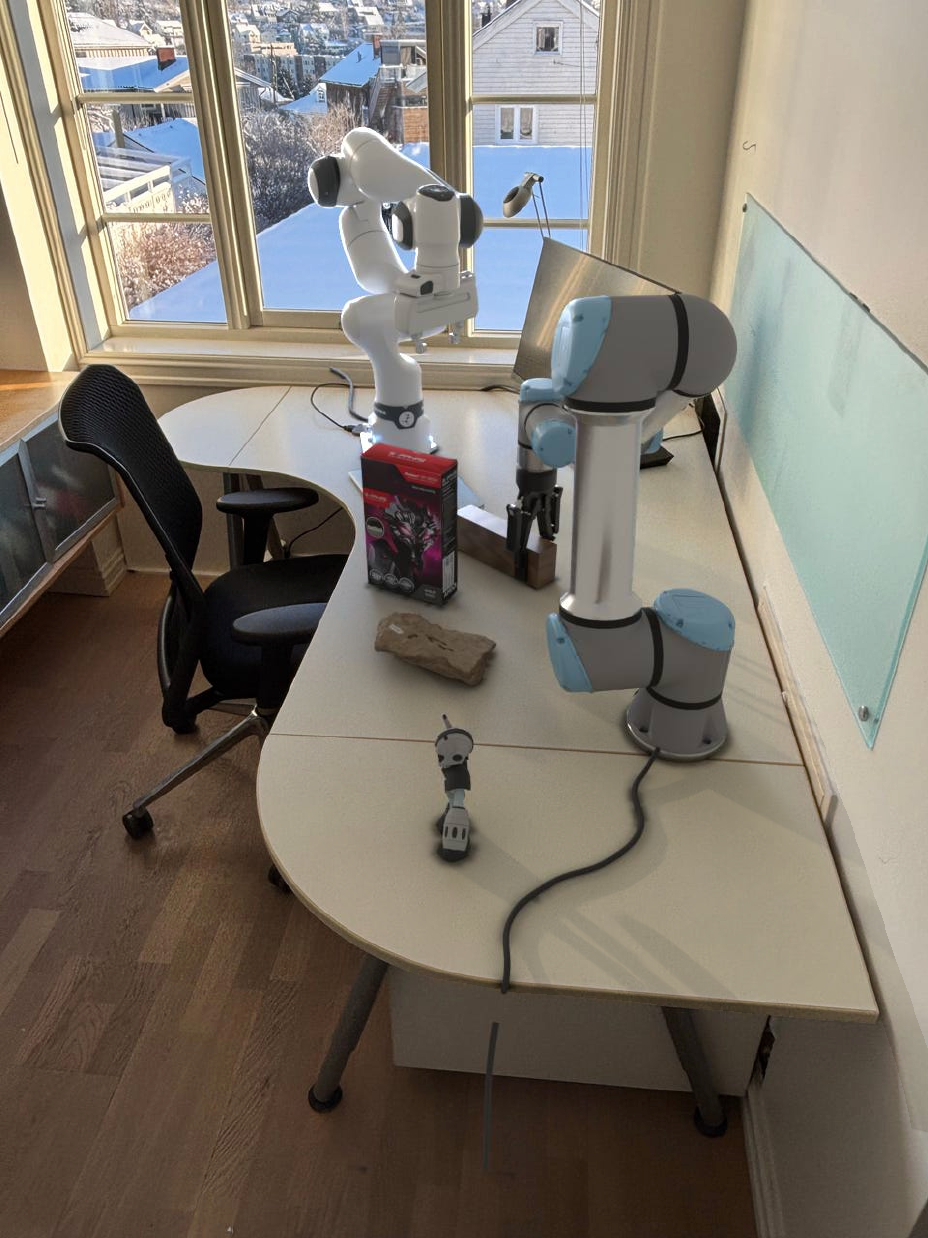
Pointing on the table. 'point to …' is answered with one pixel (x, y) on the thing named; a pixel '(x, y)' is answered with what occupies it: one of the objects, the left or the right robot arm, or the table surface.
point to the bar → (503, 545)
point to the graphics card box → (411, 521)
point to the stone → (434, 646)
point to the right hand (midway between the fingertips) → (530, 573)
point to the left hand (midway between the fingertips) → (438, 347)
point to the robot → (454, 790)
